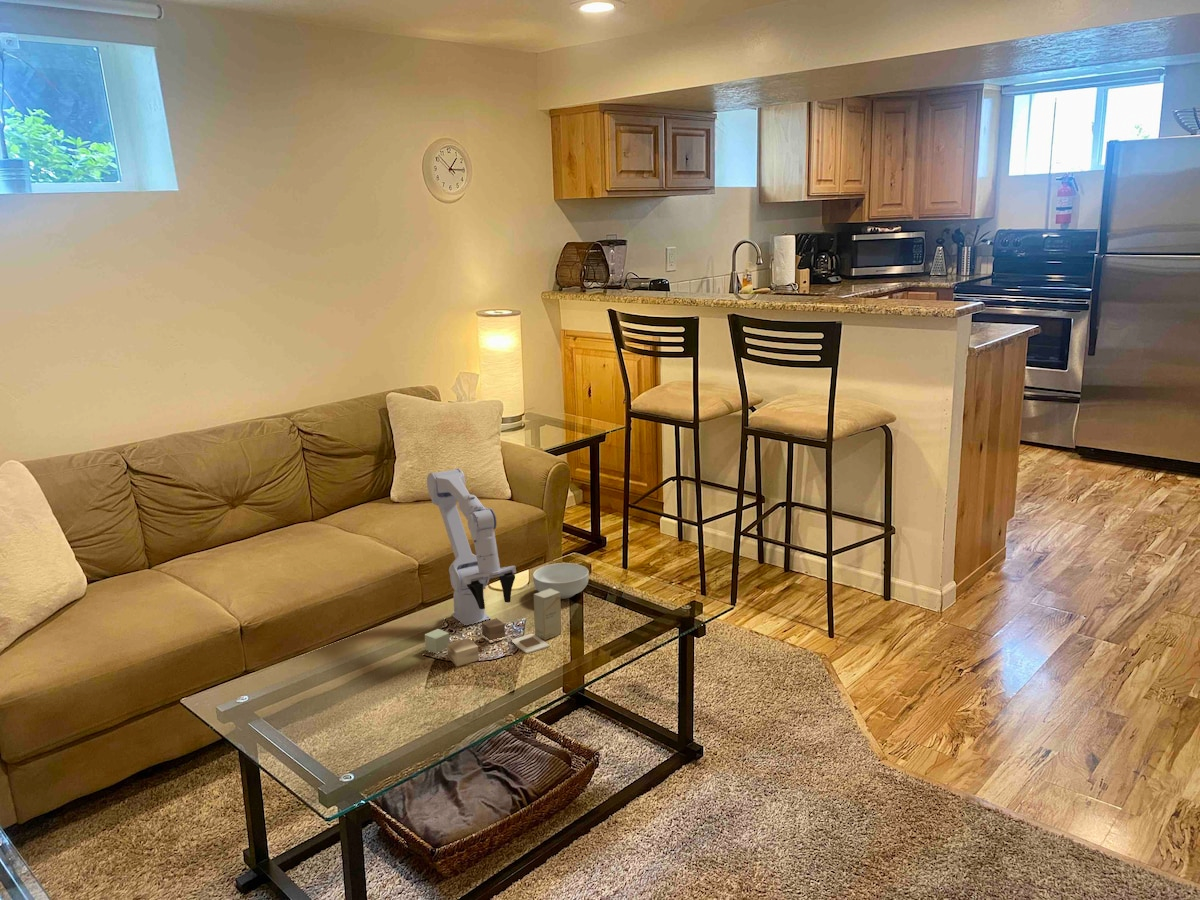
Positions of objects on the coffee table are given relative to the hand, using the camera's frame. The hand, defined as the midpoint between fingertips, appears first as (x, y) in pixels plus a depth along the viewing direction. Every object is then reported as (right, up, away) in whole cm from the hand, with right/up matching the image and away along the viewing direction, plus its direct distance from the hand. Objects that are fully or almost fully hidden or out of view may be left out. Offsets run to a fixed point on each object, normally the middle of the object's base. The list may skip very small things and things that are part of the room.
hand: (495, 605), depth 236 cm
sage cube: (-15, -11, -2) cm, 19 cm away
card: (+9, -10, 0) cm, 14 cm away
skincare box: (+14, -9, +5) cm, 17 cm away
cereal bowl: (+16, -3, +33) cm, 37 cm away
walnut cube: (-1, -10, +4) cm, 10 cm away
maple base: (-7, -13, -8) cm, 16 cm away
